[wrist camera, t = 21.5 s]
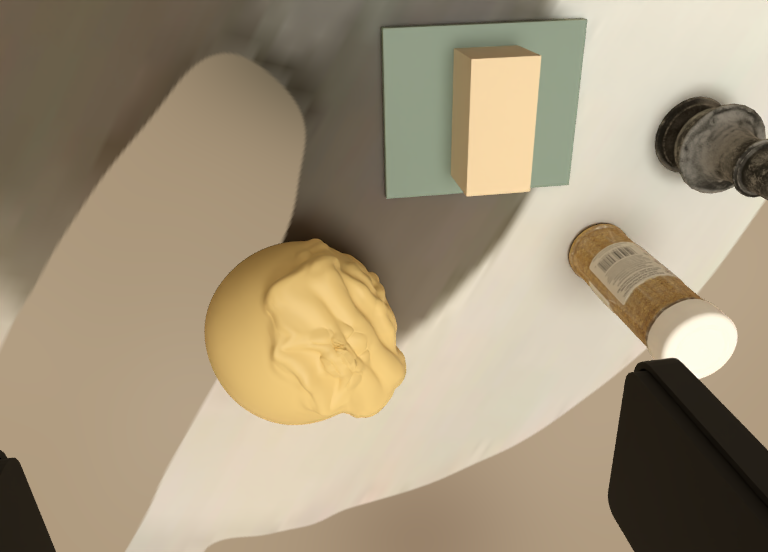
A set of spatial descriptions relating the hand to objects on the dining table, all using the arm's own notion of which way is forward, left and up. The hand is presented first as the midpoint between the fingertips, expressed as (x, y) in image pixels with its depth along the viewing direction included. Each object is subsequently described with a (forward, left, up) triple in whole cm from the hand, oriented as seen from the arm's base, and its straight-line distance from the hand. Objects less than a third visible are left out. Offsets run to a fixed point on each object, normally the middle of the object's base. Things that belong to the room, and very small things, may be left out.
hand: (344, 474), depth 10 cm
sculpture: (-1, -15, -34) cm, 37 cm away
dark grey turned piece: (+27, -6, -34) cm, 43 cm away
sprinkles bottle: (+21, -14, -33) cm, 42 cm away
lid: (+12, -3, -34) cm, 36 cm away
